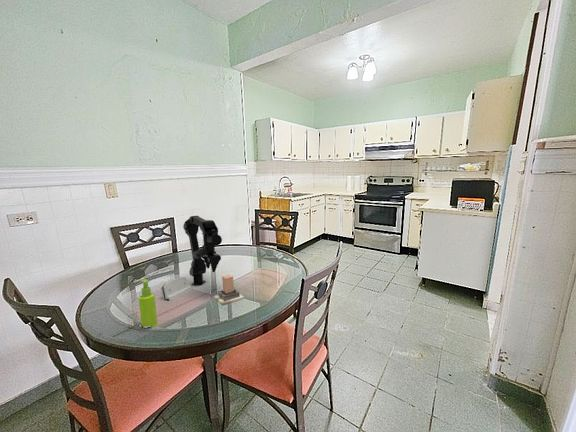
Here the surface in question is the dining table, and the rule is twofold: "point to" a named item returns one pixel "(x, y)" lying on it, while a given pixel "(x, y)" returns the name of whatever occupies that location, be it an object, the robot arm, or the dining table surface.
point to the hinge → (175, 288)
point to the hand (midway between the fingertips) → (210, 270)
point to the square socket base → (228, 297)
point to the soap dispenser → (147, 305)
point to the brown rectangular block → (228, 284)
